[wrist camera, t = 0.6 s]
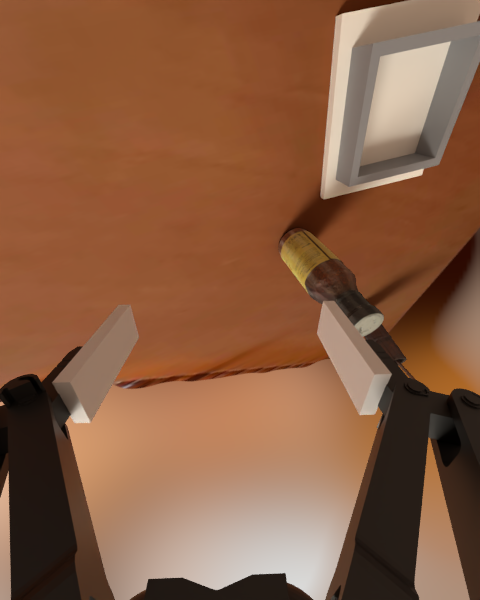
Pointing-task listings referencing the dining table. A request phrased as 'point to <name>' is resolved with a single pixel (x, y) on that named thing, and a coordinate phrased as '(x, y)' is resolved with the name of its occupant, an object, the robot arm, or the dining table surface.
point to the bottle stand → (396, 90)
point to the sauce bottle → (327, 278)
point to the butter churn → (388, 346)
